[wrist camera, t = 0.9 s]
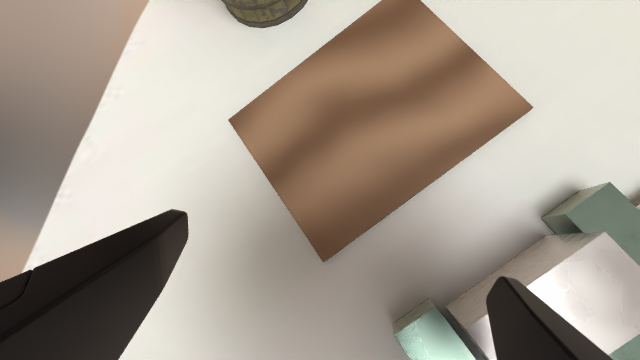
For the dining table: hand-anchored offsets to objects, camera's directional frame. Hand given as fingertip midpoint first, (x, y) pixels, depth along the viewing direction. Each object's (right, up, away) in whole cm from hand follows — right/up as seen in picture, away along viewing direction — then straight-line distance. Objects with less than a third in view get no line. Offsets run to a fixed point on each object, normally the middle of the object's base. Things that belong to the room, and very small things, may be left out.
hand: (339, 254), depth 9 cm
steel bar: (+12, -5, +11) cm, 17 cm away
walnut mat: (+3, +7, +16) cm, 18 cm away
